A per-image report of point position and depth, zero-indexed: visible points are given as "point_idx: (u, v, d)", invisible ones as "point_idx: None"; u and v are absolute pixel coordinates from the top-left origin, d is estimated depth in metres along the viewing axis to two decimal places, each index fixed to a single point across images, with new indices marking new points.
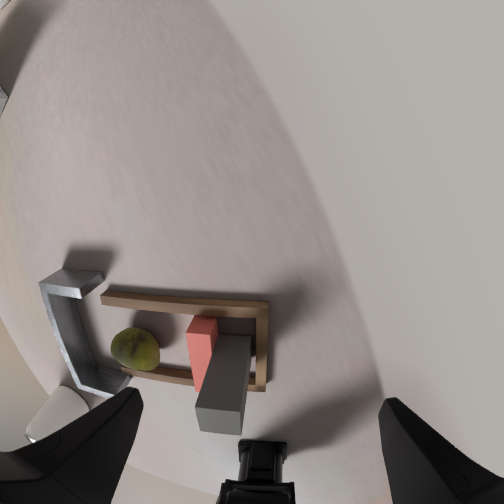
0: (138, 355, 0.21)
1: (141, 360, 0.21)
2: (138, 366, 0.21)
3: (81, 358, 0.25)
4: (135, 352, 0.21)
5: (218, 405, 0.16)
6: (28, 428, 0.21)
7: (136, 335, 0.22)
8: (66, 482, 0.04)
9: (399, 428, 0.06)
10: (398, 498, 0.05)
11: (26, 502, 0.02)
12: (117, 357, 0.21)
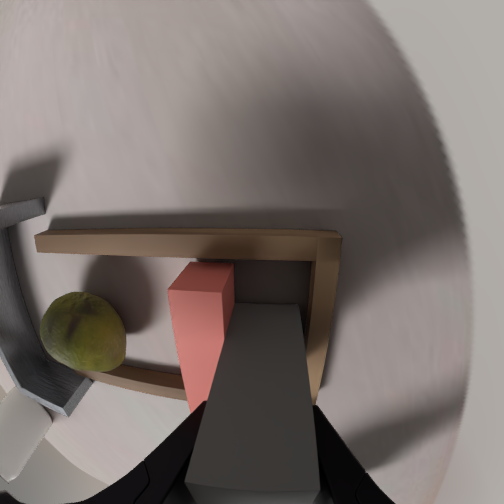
0: (78, 340, 0.10)
1: (85, 351, 0.10)
2: (79, 362, 0.10)
3: (20, 347, 0.14)
4: (74, 334, 0.10)
5: (254, 477, 0.05)
6: None
7: (80, 303, 0.11)
8: None
9: None
10: None
11: None
12: (45, 342, 0.10)
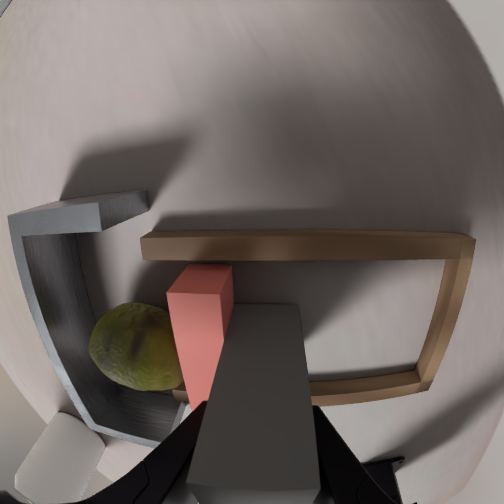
0: (145, 357, 0.10)
1: (153, 369, 0.10)
2: (146, 382, 0.09)
3: (92, 376, 0.13)
4: (139, 351, 0.10)
5: (255, 477, 0.05)
6: (16, 480, 0.09)
7: (141, 315, 0.11)
8: None
9: None
10: None
11: None
12: (101, 363, 0.09)
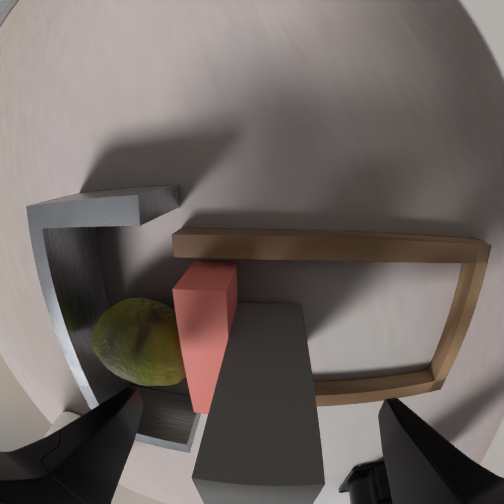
0: (149, 353, 0.10)
1: (157, 364, 0.10)
2: (150, 377, 0.10)
3: (108, 376, 0.13)
4: (144, 347, 0.10)
5: (260, 473, 0.05)
6: None
7: (146, 311, 0.11)
8: (66, 482, 0.04)
9: (399, 428, 0.06)
10: (398, 498, 0.05)
11: (26, 502, 0.02)
12: (104, 358, 0.09)
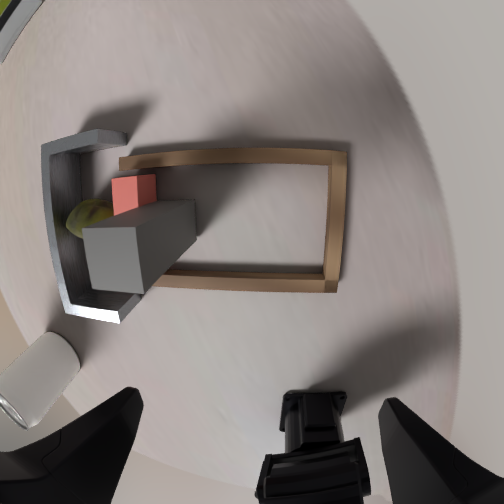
0: (95, 218, 0.16)
1: None
2: None
3: (75, 266, 0.20)
4: (93, 215, 0.16)
5: (111, 225, 0.11)
6: None
7: (100, 200, 0.17)
8: (66, 482, 0.04)
9: (399, 428, 0.06)
10: (398, 498, 0.05)
11: (26, 502, 0.02)
12: (70, 225, 0.16)
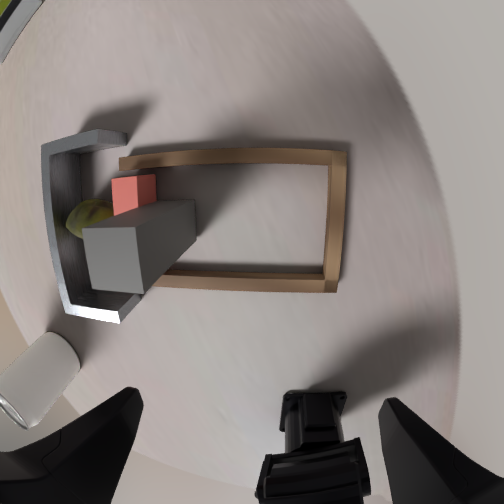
0: (95, 218, 0.16)
1: None
2: None
3: (75, 266, 0.20)
4: (93, 216, 0.16)
5: (111, 225, 0.11)
6: None
7: (100, 200, 0.17)
8: (66, 482, 0.04)
9: (399, 428, 0.06)
10: (398, 498, 0.05)
11: (26, 502, 0.02)
12: (70, 225, 0.16)
